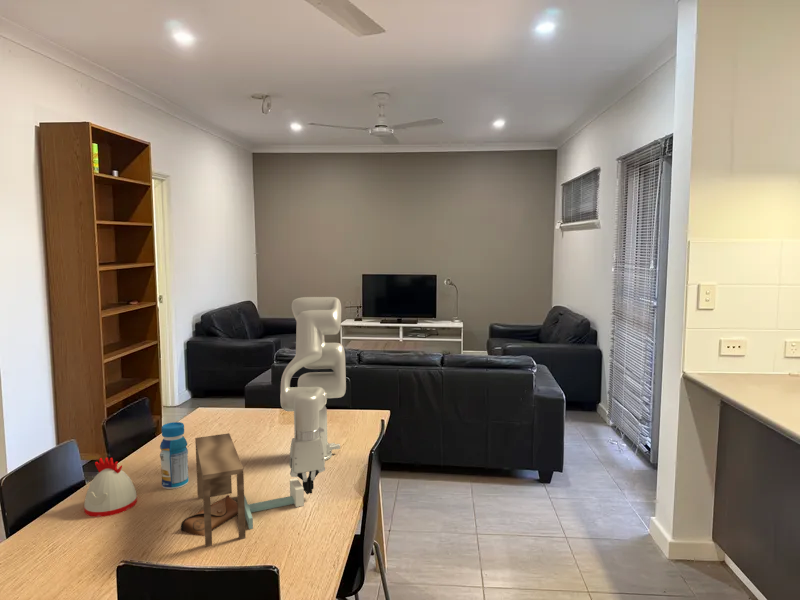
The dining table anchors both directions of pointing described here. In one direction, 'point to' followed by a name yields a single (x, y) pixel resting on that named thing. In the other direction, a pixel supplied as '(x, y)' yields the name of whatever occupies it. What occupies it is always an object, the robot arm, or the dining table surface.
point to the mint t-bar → (276, 501)
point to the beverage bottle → (174, 456)
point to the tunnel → (218, 477)
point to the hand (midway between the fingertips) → (308, 492)
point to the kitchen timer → (109, 491)
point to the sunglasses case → (219, 515)
